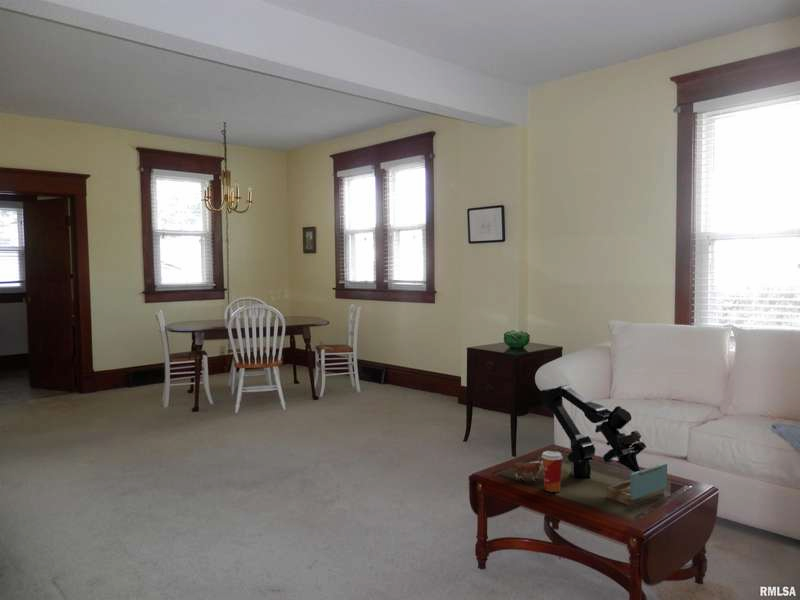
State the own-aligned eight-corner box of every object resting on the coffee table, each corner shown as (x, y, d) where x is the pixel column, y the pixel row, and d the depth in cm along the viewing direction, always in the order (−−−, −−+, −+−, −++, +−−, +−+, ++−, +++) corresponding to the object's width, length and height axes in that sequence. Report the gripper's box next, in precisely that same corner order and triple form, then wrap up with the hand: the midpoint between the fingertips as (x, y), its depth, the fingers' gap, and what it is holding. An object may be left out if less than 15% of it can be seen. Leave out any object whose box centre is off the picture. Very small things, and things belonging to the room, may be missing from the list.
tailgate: (630, 499, 213) (630, 473, 212) (664, 487, 224) (664, 462, 223) (633, 500, 212) (633, 474, 211) (668, 488, 222) (668, 463, 222)
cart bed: (606, 496, 221) (606, 487, 221) (640, 485, 232) (640, 476, 232) (629, 505, 213) (629, 495, 213) (663, 492, 224) (663, 483, 224)
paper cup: (543, 485, 234) (543, 449, 233) (564, 487, 231) (563, 451, 230) (540, 492, 227) (539, 455, 226) (561, 495, 224) (561, 457, 223)
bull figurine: (547, 483, 236) (547, 462, 236) (512, 481, 239) (512, 460, 239) (547, 479, 241) (547, 459, 240) (512, 477, 243) (512, 457, 243)
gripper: (609, 428, 220) (636, 466, 211) (641, 420, 230) (668, 456, 221) (592, 444, 227) (617, 482, 218) (624, 436, 237) (649, 471, 228)
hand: (638, 472), depth 221 cm, fingers closed
